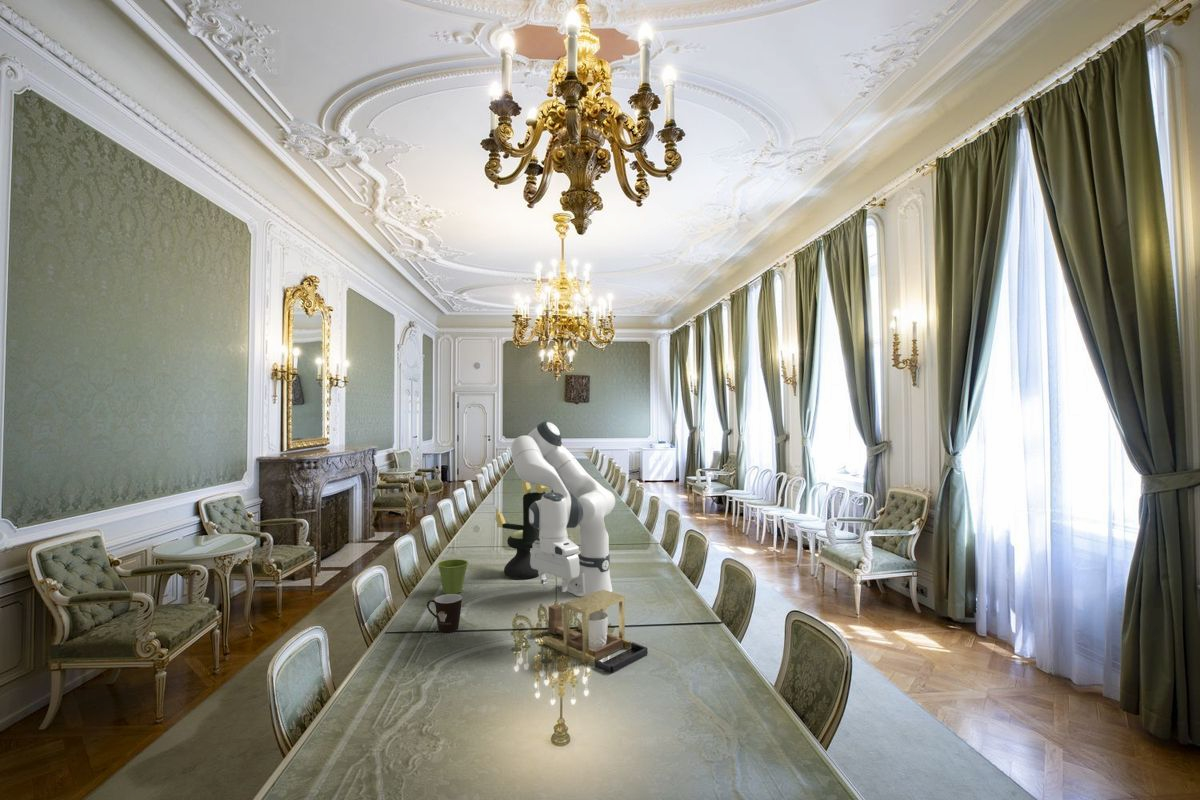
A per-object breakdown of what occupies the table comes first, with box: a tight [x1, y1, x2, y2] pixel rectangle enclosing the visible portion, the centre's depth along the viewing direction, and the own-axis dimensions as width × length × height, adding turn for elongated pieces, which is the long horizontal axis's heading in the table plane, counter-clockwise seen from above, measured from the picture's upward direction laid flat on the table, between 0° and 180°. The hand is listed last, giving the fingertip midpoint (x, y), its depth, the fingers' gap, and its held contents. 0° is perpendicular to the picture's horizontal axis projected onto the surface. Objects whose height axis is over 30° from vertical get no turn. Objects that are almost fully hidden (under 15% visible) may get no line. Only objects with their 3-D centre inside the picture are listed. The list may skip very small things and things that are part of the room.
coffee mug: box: [426, 593, 463, 634], centre depth 182 cm, size 12×9×10 cm
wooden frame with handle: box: [547, 604, 624, 661], centre depth 171 cm, size 25×12×8 cm, turn 47°
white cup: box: [581, 610, 609, 650], centre depth 167 cm, size 8×8×10 cm
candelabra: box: [495, 479, 550, 580], centre depth 239 cm, size 19×22×45 cm
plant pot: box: [436, 558, 469, 594], centre depth 217 cm, size 12×12×11 cm
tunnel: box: [543, 590, 648, 674], centre depth 167 cm, size 28×17×15 cm, turn 47°
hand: (553, 587), depth 179 cm, fingers open, 8 cm apart
